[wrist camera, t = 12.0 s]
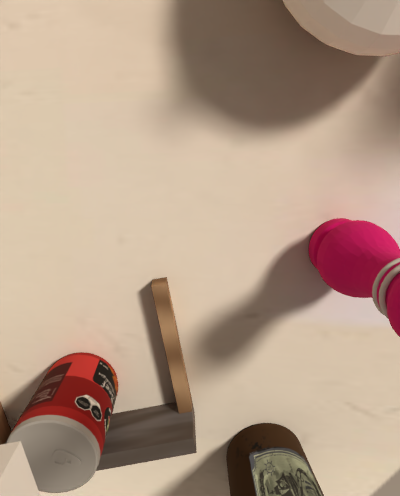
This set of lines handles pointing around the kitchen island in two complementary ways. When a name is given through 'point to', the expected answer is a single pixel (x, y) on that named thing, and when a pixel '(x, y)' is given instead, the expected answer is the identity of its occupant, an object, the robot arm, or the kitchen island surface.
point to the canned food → (68, 422)
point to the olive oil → (269, 464)
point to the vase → (351, 24)
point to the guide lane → (153, 418)
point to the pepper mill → (359, 263)
